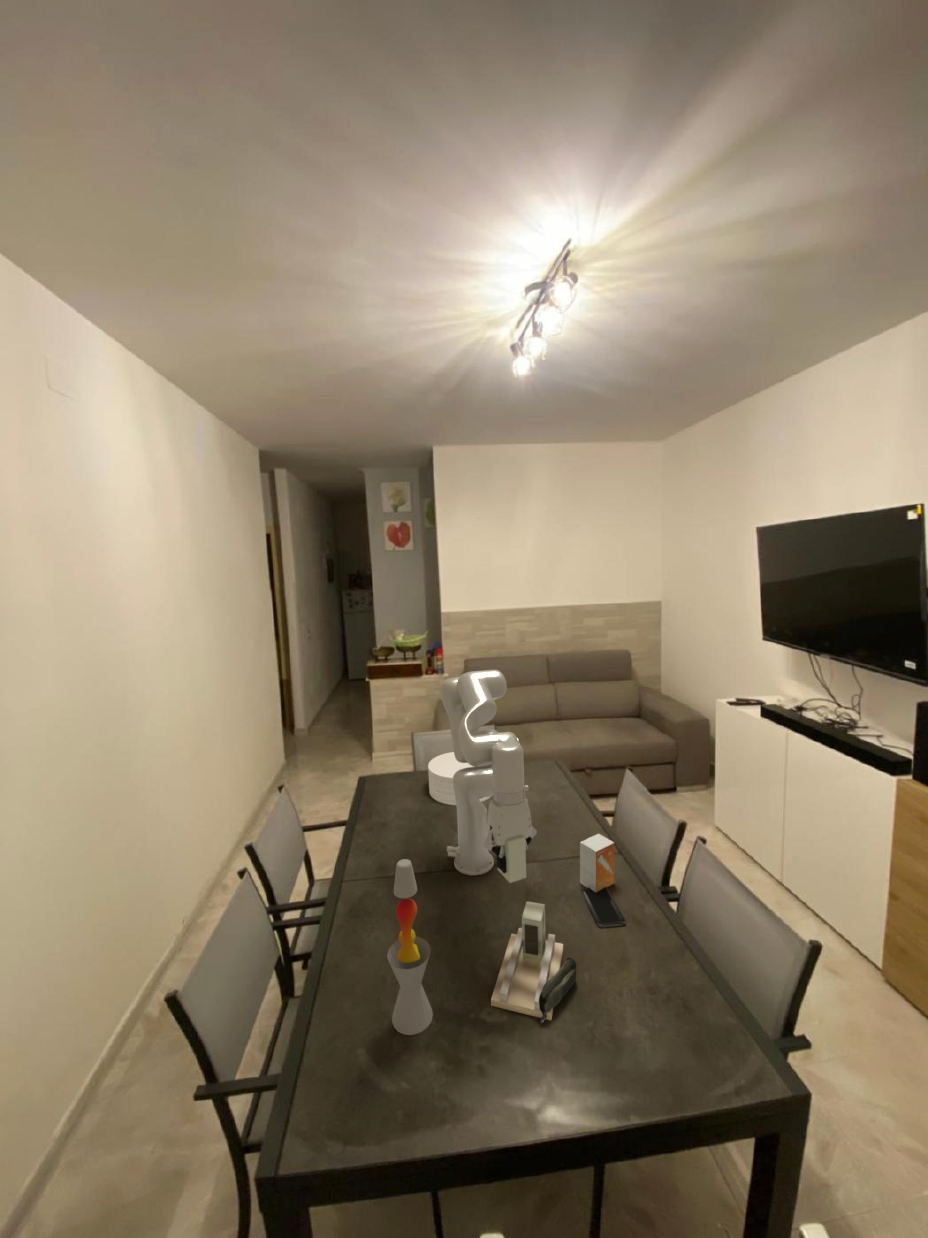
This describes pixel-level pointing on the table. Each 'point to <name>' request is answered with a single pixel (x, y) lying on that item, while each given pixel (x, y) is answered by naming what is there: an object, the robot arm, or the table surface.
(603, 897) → the phone
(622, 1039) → the table surface
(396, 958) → the lava lamp
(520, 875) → the pale green tall block
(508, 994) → the rail board
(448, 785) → the plate stack
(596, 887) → the small box
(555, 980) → the mobile phone
